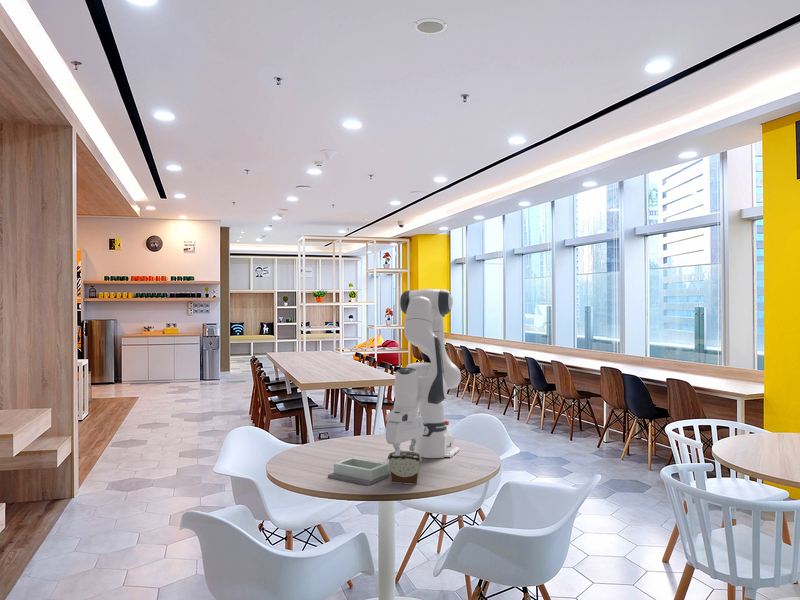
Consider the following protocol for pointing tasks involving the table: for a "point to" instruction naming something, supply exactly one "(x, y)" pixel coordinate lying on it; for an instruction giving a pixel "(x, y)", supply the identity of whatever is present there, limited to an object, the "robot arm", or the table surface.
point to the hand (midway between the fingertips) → (405, 452)
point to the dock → (360, 471)
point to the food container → (404, 467)
